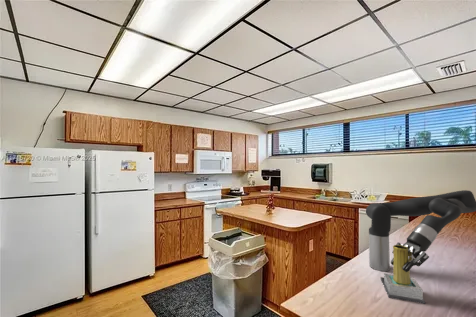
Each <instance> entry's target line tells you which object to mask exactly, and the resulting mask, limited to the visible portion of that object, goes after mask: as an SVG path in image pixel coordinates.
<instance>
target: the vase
mask: <svg viewBox="0 0 476 317" xmlns="http://www.w3.org/2000/svg"><path fill="white" fill-rule="evenodd" d="M392 252H393V253H392V254H393V258H394V262H393V265H392V267H393V269H392V270H393V272H392V273H393V274H392V275H393V280H394V281H395V282H397V283H399V284H403V285H409V284H411V281H410V277H411V273H410V272H411V271H410V270H411V269H410V270H409V271H408V272H405V271H404V270H403V269H402V268H403V266H404V265H405V264H406V262H408V260H409V256H408V248H407V247H406V246H402V245H396V244H394V245H392Z"/></svg>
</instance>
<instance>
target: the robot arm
mask: <svg viewBox="0 0 476 317" xmlns="http://www.w3.org/2000/svg"><path fill="white" fill-rule="evenodd" d="M365 208H366V209H365V214H366V216H367V217H368V218H369V219H371V226H370V227H369V228H368V252H369V253H368V259H369V261H368V262H369V267H370V268H371V269H374V270H376V271H380V272H388V271H390V270H391V267H390V266H393V262H394V257H392V259H390V232H391V227H392V226H391V225H392V217H394V216H395V217H396V216H397V217H398V216H400V217H401V216H402V217H417V216H418V217H419V216H421V217H422V216H424V217H423V219H422V220H421V222H419V224H418V225H417V226H415V228H414V229H413V230H412V231H411V233H410V234H409V235H408V237H407V238H406V242H405V243H401V242H397V243H396V244H395V245H402V246H406V247H407V248H408V257H409V260H408V262H406V264H405V265H404V266H403V268H402V269H403V270H404V271H405V272H408V271H409V270H412V268H413V267H415V266H416V267H418V268H419V267H420V266H421V265H423V264H424V263H425V262H426V261H427V260H429V259H430V256H429V255H428V254H427V253H426V252H427V250H429V248H430V247H431V245H432V244H433V243H434V242H435V240H436V238H437V237H438V235H439V234H440V233H441V231H442V230H443V229H444V228H445V227H446V226H447V225H449V224H450V223H452V222H453V221H455V220H457V219H458V218H459V217H460V216H461V214H469V213H473V212H476V198H475V195H474V193H473V192H472V191H471V190H467V189H465V190H457V191H451V192H447V193H441V194H434V195H427V196H419V197H412V198H406V199H401V200H396V201H391V202H374V203H370V204H369V205H368V206H367V207H365ZM432 213H433V214H435V215H437V216H435V215H431V214H432ZM392 254H393V251H392Z"/></svg>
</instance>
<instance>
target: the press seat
mask: <svg viewBox="0 0 476 317" xmlns="http://www.w3.org/2000/svg"><path fill="white" fill-rule="evenodd" d="M390 279H391V281H392V283H393V284H399V283H397V282H395V281H394V280H393V279H392V278H390ZM399 285H403V284H399ZM406 286H412V287H414V286H413V285H412V284H409V285H406Z"/></svg>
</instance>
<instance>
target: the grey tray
mask: <svg viewBox="0 0 476 317" xmlns="http://www.w3.org/2000/svg"><path fill="white" fill-rule="evenodd" d="M390 278H392V279H393V274H392V273H391V274H390V273H383V276H380V282H381V283H383V284H382V286H383V285H384V286H383V288H384V291H385V292H387V293H386V295H387V297H388V299H394V300H400V301H401V300H402V301H406V302H412V303H416V304H417V303H418V304H422V305H423V304H424V305H425V304H426V301H425V299H424V296H423V294H424V293H423V288H422V287H421V285H420V284H419V283H418V282H417V280H416V279H415V278H414V277H412V276H410V281H411V284H412V285H413V286H414V287H412V286H406V285H399V284H393V283H392V281H391V279H390Z"/></svg>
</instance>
